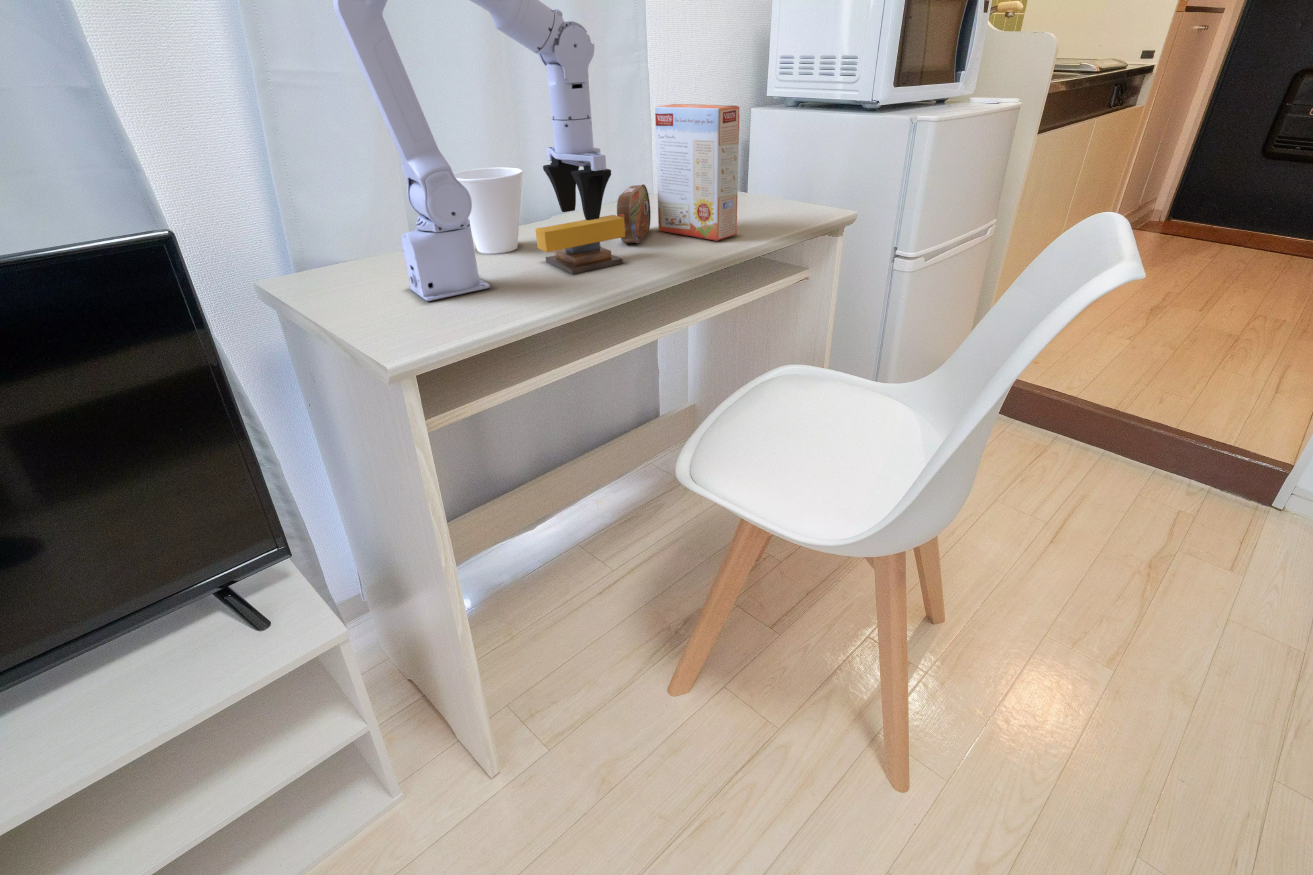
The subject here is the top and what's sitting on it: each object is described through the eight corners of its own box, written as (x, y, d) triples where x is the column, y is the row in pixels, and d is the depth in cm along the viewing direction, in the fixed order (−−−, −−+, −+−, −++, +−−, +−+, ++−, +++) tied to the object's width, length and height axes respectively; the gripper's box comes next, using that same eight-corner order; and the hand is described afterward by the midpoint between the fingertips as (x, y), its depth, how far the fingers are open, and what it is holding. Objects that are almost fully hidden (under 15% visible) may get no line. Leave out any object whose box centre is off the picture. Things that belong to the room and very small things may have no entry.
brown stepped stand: (572, 274, 105) (570, 253, 104) (545, 262, 112) (543, 242, 110) (622, 263, 110) (621, 243, 108) (594, 252, 116) (592, 232, 114)
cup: (483, 238, 127) (472, 166, 121) (543, 241, 124) (534, 167, 118) (449, 256, 117) (435, 178, 111) (513, 259, 114) (502, 179, 108)
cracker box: (738, 235, 122) (741, 104, 112) (716, 242, 119) (718, 107, 108) (679, 225, 131) (677, 102, 121) (657, 231, 127) (653, 105, 117)
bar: (546, 252, 105) (544, 232, 103) (537, 248, 107) (535, 228, 105) (625, 237, 111) (624, 217, 110) (614, 233, 114) (613, 214, 112)
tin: (634, 249, 117) (631, 197, 113) (616, 248, 118) (613, 197, 113) (652, 228, 130) (650, 180, 126) (636, 227, 130) (634, 180, 126)
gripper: (621, 119, 97) (627, 218, 104) (571, 113, 107) (579, 204, 114) (577, 123, 94) (586, 226, 100) (530, 117, 104) (541, 210, 111)
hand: (580, 215), depth 107 cm, fingers open, 7 cm apart
